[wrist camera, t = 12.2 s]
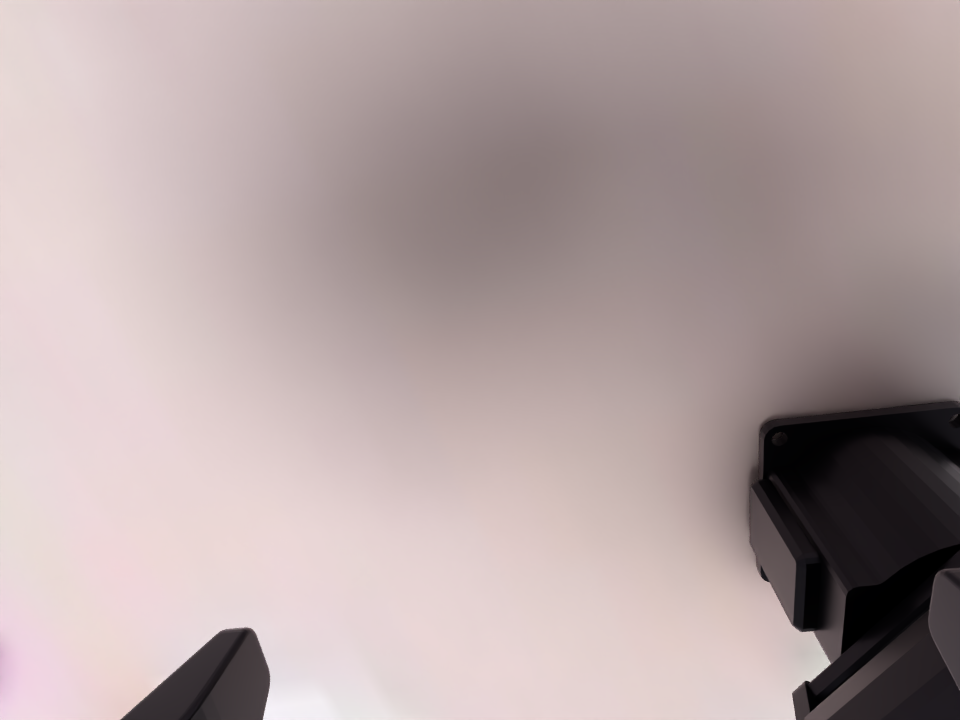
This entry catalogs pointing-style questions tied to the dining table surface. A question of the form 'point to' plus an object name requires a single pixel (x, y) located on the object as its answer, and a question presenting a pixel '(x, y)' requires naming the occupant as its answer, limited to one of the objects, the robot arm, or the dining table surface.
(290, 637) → the dining table surface
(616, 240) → the dining table surface
